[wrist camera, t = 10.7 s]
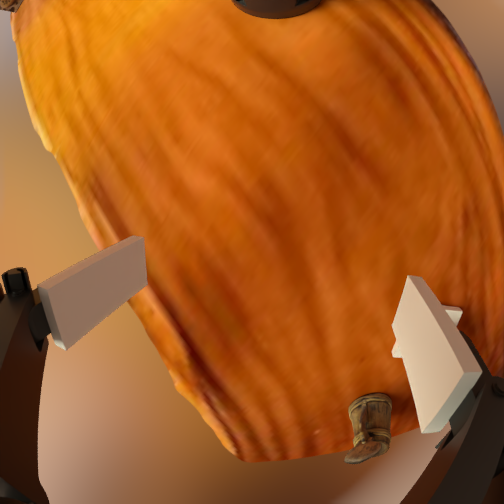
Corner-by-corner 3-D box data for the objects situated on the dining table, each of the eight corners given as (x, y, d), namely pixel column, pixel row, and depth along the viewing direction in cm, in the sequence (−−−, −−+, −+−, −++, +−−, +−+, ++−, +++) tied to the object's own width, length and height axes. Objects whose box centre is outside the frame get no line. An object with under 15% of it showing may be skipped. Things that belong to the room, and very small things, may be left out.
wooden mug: (378, 372, 42) (389, 453, 25) (395, 409, 44) (405, 480, 27) (333, 389, 45) (330, 469, 29) (357, 424, 47) (357, 493, 31)
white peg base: (411, 300, 37) (423, 322, 31) (459, 307, 35) (474, 327, 29) (391, 351, 40) (398, 376, 34) (437, 355, 38) (448, 378, 32)
